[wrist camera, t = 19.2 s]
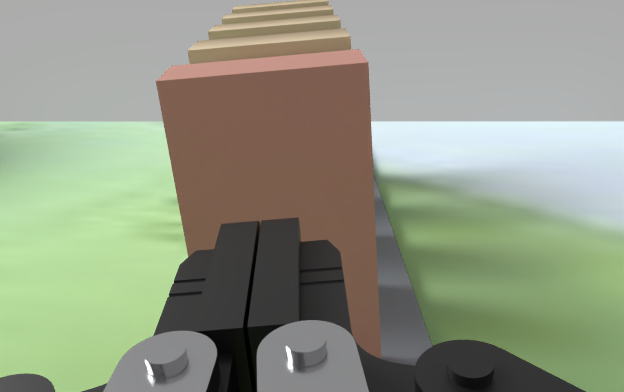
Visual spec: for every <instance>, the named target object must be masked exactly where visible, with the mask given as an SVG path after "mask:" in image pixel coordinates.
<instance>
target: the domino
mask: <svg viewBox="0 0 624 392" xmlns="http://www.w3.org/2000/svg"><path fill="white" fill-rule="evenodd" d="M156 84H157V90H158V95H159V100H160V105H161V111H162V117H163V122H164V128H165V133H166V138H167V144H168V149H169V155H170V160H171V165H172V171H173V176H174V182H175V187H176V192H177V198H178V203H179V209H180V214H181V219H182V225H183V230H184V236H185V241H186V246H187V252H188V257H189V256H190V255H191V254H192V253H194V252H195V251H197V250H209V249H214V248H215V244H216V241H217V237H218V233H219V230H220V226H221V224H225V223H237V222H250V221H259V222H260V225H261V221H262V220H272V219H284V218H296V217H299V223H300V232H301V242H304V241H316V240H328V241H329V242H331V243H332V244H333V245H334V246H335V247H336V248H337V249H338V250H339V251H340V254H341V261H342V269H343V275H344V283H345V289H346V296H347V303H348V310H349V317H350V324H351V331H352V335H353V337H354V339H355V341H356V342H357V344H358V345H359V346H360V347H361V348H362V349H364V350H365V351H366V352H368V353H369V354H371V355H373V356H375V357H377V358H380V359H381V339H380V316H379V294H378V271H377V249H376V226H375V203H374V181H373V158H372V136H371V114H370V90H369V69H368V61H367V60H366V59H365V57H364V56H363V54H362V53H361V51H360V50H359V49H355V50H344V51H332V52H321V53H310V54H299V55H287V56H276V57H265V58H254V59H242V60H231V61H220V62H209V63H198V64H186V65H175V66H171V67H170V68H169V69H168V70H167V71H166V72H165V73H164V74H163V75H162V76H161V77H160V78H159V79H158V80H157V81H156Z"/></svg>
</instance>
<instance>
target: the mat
mask: <svg viewBox="0 0 624 392" xmlns="http://www.w3.org/2000/svg"><path fill="white" fill-rule="evenodd" d="M373 181H374V203H375V226H376V249H377V271H378V294H379V316H380V339H381V359H383V360H386V361H390V362H395V363H400V364H407V365H414V366H415V364H416V362H417V360H418V358H419V357H420V356H421V354H422V353H424V352H425V351H426V350H427V349H429V348H431V347H432V343H431V340H430V337H429V334H428V331H427V328H426V326H425V323H424V320H423V317H422V314H421V311H420V308H419V305H418V302H417V299H416V296H415V294H414V291H413V288H412V285H411V282H410V279H409V276H408V273H407V270H406V267H405V264H404V261H403V259H402V256H401V253H400V250H399V247H398V244H397V241H396V238H395V235H394V232H393V229H392V227H391V224H390V221H389V218H388V215H387V212H386V209H385V206H384V203H383V200H382V197H381V194H380V192H379V189H378V186H377V183H376V180H375V177H374V174H373Z"/></svg>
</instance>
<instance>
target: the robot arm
mask: <svg viewBox="0 0 624 392" xmlns="http://www.w3.org/2000/svg"><path fill="white" fill-rule="evenodd" d="M0 392H55V389H54V386H53V385H52V383H51V382H50V381H49V380H48V379H47V378H45V377H43V376H40V375H36V374H16V375H10V376H6V377H2V378H0ZM82 392H585V391H583V390H581V389H579V388H578V387H576V386H574V385H572V384H570V383H568V382H566V381H564V380H562V379H560V378H558V377H556V376H554V375H552V374H550V373H548V372H546V371H544V370H542V369H540V368H538V367H536V366H534V365H533V364H531V363H529V362H527V361H525V360H523V359H521V358H519V357H517V356H515V355H513V354H511V353H509V352H507V351H505V350H503V349H501V348H499V347H497V346H494V345H491V344H488V343H485V342H480V341H473V340H453V341H447V342H443V343H439V344H437V345H434V346H432V347H431V348H429V349H427V350H426V351H425V352H424V353H422V354H421V356H420V357H419V358H418V360H417V362H416V364H415V366H414V365H407V364H400V363H395V362H390V361H386V360H383V359H380V358H377V357H375V356H373V355H371V354H369V353H368V352H366V351H365V350H364V349H362V348H361V347H360V346H359V345H358V344H357V342H356V341H355V339H354V337H353V335H352V331H351V324H350V317H349V310H348V303H347V296H346V289H345V283H344V275H343V269H342V261H341V254H340V251H339V250H338V249H337V248H336V247H335V246H334V245H333V244H332V243H331V242H329V241H328V240H316V241H304V242H301V232H300V223H299V217H296V218H284V219H272V220H262V221H261V225H260V222H259V221H250V222H237V223H225V224H221V226H220V230H219V233H218V237H217V241H216V244H215V248H214V249H209V250H197V251H195V252H194V253H192V254H191V255H190V256H189V257H188V258H187V259H186V260H185V261H184V262H183V263H181V264H180V266H179V269H178V271H177V274H176V277H175V279H174V284H173V285H172V287H171V290H170V293H169V297H168V298H167V301H166V304H165V306H164V309H163V312H162V314H161V317H160V320H159V322H158V325H157V328H156V331H155V333H154V336H152V337H150V338H147V339H145V340H144V341H142V342H140V343H138V344H137V345H135V346H134V347H132V348H131V349H130V350H129V351H127V353H126V354H125V355H124V356H123V357H122V358H121V360H120V361H119V363H118V365H117V367H116V369H115V370H114V372H113V374H112V376H111V378H110V380H109V381H108V383H106V384H104V385H101V386H98V387H95V388H92V389H89V390H86V391H82Z"/></svg>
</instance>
